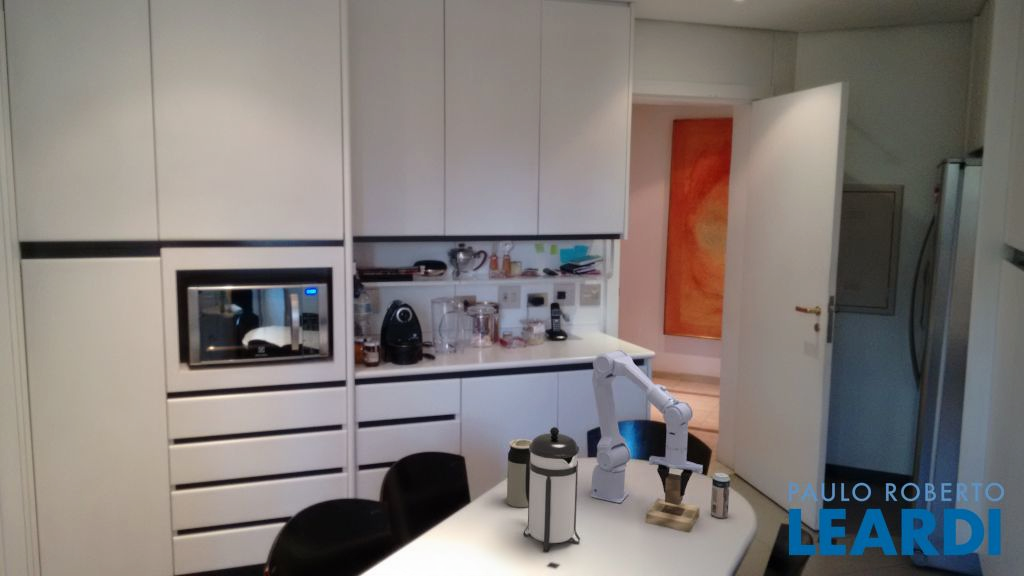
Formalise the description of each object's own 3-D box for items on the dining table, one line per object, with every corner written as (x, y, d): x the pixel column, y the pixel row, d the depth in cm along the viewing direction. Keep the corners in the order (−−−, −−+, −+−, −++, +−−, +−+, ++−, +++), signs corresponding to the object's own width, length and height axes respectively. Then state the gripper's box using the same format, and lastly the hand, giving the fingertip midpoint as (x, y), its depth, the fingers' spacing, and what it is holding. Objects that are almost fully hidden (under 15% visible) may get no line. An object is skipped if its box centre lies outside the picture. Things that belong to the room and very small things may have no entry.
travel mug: (538, 500, 201) (539, 441, 199) (527, 510, 194) (528, 449, 192) (513, 495, 204) (515, 437, 203) (502, 504, 197) (503, 444, 195)
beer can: (728, 519, 191) (731, 478, 190) (711, 518, 192) (713, 477, 190) (726, 512, 195) (729, 472, 194) (709, 511, 196) (711, 471, 195)
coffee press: (586, 530, 182) (590, 421, 179) (572, 557, 167) (576, 439, 164) (525, 519, 188) (528, 414, 185) (506, 545, 173) (508, 430, 170)
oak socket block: (645, 522, 188) (646, 513, 188) (657, 506, 199) (657, 498, 198) (689, 532, 183) (689, 523, 182) (699, 515, 193) (699, 507, 193)
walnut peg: (664, 502, 189) (665, 477, 188) (668, 496, 193) (669, 473, 192) (679, 505, 187) (680, 480, 186) (682, 499, 191) (683, 475, 190)
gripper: (646, 445, 188) (644, 493, 190) (699, 455, 182) (697, 504, 183) (653, 438, 195) (651, 484, 196) (705, 447, 188) (702, 494, 189)
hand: (674, 493), depth 190 cm, fingers closed on walnut peg, 4 cm apart
